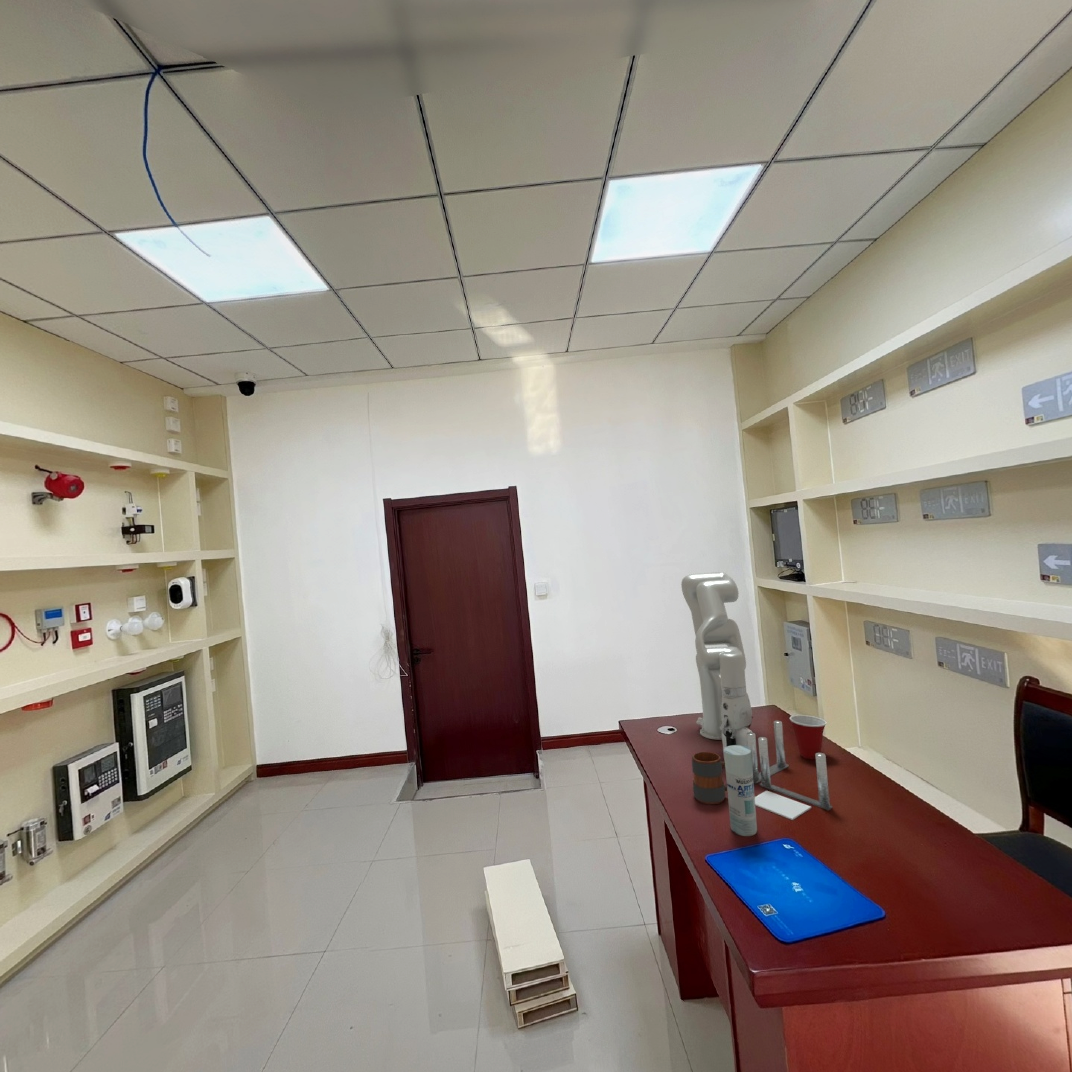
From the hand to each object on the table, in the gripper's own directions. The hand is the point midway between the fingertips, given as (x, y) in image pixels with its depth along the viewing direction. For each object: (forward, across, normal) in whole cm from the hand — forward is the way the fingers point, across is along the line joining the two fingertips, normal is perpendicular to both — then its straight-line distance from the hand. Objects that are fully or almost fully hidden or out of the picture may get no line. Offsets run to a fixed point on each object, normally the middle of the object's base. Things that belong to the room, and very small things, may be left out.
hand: (738, 746), depth 176 cm
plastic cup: (+6, +20, -12) cm, 24 cm away
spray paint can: (+6, -32, -24) cm, 41 cm away
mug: (+6, -24, -9) cm, 26 cm away
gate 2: (+6, -8, -23) cm, 25 cm away
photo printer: (+6, 0, 0) cm, 6 cm away
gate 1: (+6, 0, -10) cm, 12 cm away
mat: (+6, -16, -23) cm, 28 cm away
